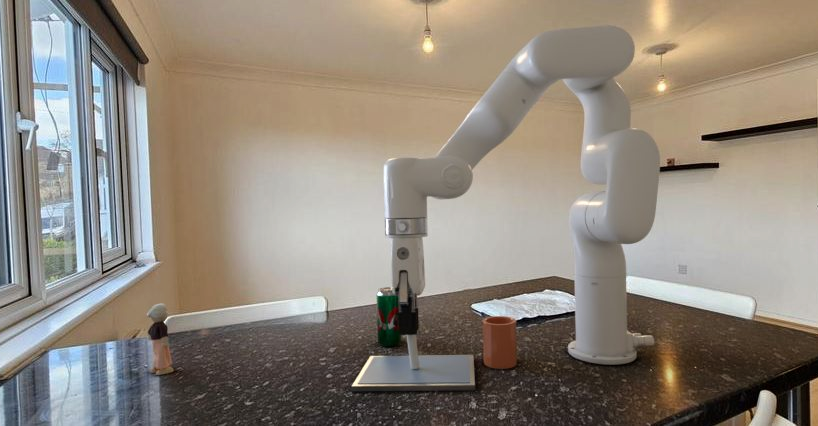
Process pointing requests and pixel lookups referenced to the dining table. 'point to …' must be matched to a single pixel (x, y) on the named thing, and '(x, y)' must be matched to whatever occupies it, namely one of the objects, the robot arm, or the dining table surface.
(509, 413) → the dining table surface
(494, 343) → the pen cup
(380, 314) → the soda can
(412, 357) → the stylus
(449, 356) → the tablet
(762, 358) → the dining table surface
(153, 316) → the grandmother figurine
